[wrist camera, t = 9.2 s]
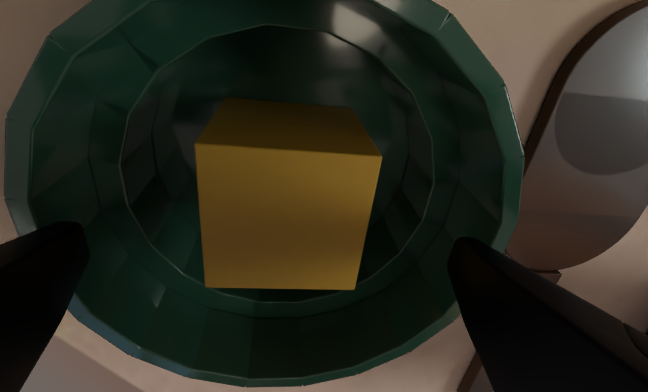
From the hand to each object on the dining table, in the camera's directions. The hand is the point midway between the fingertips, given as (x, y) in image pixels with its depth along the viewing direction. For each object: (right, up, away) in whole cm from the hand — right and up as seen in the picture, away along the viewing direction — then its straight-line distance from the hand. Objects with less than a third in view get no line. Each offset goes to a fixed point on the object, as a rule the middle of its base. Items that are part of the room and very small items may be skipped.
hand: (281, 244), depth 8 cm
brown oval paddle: (+12, -2, +9) cm, 15 cm away
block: (0, +3, +4) cm, 5 cm away
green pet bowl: (0, +3, +5) cm, 6 cm away
